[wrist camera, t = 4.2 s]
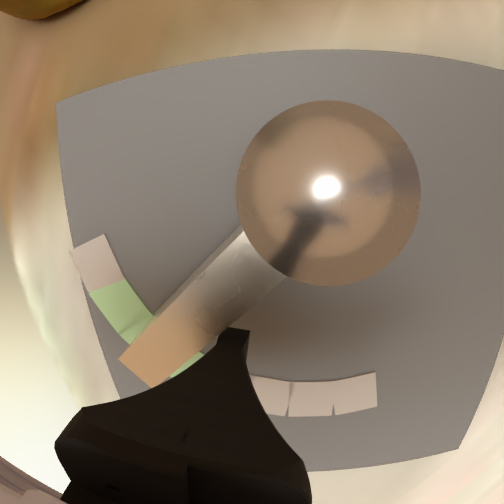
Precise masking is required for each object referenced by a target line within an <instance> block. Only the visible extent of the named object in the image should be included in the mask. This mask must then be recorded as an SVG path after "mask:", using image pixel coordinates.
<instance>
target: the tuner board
mask: <svg viewBox="0 0 504 504" xmlns="http://www.w3.org/2000/svg"><path fill="white" fill-rule="evenodd" d="M319 100H334V101H343V102H348V103H352V104H355V105H358V106H361V107H363V108H366V109H368V110H370V111H372V112H373V113H375V114H377V115H379V116H380V117H381V118H383V119H384V120H385V121H387V122H388V123H389V124H390V125H391V126H392V127H393V128H394V129H395V130H396V131H397V132H398V133H399V134H400V136H401V137H402V138H403V140H404V141H405V142H406V144H407V146H408V148H409V149H410V151H411V153H412V155H413V158H414V160H415V163H416V166H417V169H418V173H419V178H420V186H421V202H420V210H419V215H418V219H417V222H416V225H415V228H414V230H413V233H412V235H411V237H410V238H409V240H408V242H407V244H406V245H405V247H404V248H403V249H402V251H401V252H400V253H399V255H398V256H397V257H396V258H395V259H394V260H393V261H392V262H391V263H390V264H388V265H387V266H386V267H385V268H383V269H382V270H381V271H379V272H377V273H376V274H374V275H372V276H370V277H368V278H366V279H364V280H362V281H358V282H355V283H352V284H347V285H341V286H316V285H311V284H306V283H303V282H300V281H297V280H294V279H292V278H290V277H288V276H286V277H285V278H284V279H283V280H282V281H281V282H280V283H278V284H277V285H276V286H275V287H274V288H273V289H272V290H271V291H269V292H268V293H267V294H266V295H265V296H264V297H263V298H261V299H260V300H259V301H258V302H257V303H256V304H255V305H253V306H252V307H251V308H250V309H249V310H248V311H246V312H245V313H244V314H243V315H242V316H241V317H239V318H238V319H237V320H236V321H235V322H234V323H232V324H231V325H230V326H229V327H232V328H238V329H244V330H250V337H249V345H248V352H247V360H246V364H247V368H248V372H249V375H250V378H251V381H252V384H253V387H254V389H255V392H256V394H257V396H258V398H259V400H260V402H261V404H262V406H263V408H264V410H265V412H266V413H267V415H268V417H269V418H270V420H271V421H272V423H273V424H274V426H275V428H276V429H277V431H278V432H279V433H280V434H281V436H282V437H283V438H284V440H285V441H286V442H287V443H288V445H289V446H290V447H291V448H292V449H293V450H294V451H295V452H296V453H297V454H298V456H299V457H300V458H301V459H302V460H303V461H304V464H305V468H306V471H307V472H312V471H330V470H343V469H353V468H362V467H370V466H378V465H384V464H391V463H397V462H402V461H408V460H413V459H418V458H423V457H427V456H432V455H436V454H440V453H444V452H448V451H452V450H456V449H458V448H459V446H460V444H461V442H462V440H463V438H464V436H465V434H466V432H467V430H468V428H469V426H470V424H471V422H472V419H473V417H474V415H475V413H476V410H477V408H478V406H479V403H480V401H481V399H482V396H483V394H484V391H485V389H486V386H487V383H488V381H489V378H490V375H491V372H492V370H493V367H494V364H495V361H496V358H497V355H498V352H499V348H500V345H501V342H502V338H503V335H504V71H503V70H499V69H495V68H491V67H487V66H482V65H478V64H473V63H468V62H463V61H458V60H452V59H446V58H440V57H433V56H426V55H418V54H409V53H399V52H387V51H371V50H298V51H281V52H269V53H258V54H249V55H241V56H233V57H226V58H219V59H213V60H207V61H201V62H195V63H190V64H185V65H180V66H175V67H171V68H166V69H162V70H158V71H154V72H150V73H146V74H142V75H138V76H134V77H131V78H127V79H124V80H120V81H117V82H113V83H110V84H107V85H104V86H101V87H98V88H95V89H92V90H89V91H86V92H83V93H80V94H77V95H75V96H72V97H69V98H67V99H64V100H61V101H59V102H56V111H57V131H58V144H59V155H60V165H61V174H62V182H63V189H64V196H65V203H66V209H67V215H68V221H69V226H70V232H71V237H72V242H73V246H74V249H72V250H70V251H69V252H70V255H71V257H72V259H73V261H74V264H75V266H76V268H77V270H78V272H79V274H80V277H81V281H82V285H83V289H84V292H85V296H86V300H87V303H88V307H89V310H90V314H91V317H92V320H93V324H94V327H95V330H96V333H97V336H98V339H99V342H100V345H101V348H102V351H103V354H104V357H105V360H106V362H107V365H108V368H109V371H110V373H111V376H112V378H113V381H114V384H115V386H116V389H117V391H118V394H119V396H120V398H121V399H123V398H127V397H130V396H133V395H136V394H138V393H141V392H144V391H146V390H148V389H151V387H150V386H148V385H147V384H146V383H145V382H144V381H142V380H141V379H140V378H139V377H138V376H137V375H135V374H134V373H133V372H132V371H131V370H130V369H128V368H127V367H126V366H125V365H124V364H123V363H122V362H121V361H119V360H118V358H119V357H120V356H121V355H122V353H123V352H124V351H125V350H126V348H127V347H128V346H129V345H130V343H131V342H132V341H133V339H134V338H135V337H136V336H137V334H138V333H139V332H140V331H141V329H142V328H143V327H144V326H145V325H146V323H147V322H148V321H149V320H150V318H151V317H152V316H153V315H154V313H155V312H156V311H157V310H158V309H159V308H160V307H161V306H162V305H163V303H164V302H165V301H166V300H167V299H168V298H169V297H170V296H171V295H172V294H173V293H174V292H175V291H176V290H177V289H178V288H179V287H180V286H181V285H182V284H183V283H184V282H185V281H186V280H187V279H188V278H189V276H190V275H191V274H192V273H193V272H194V271H195V270H196V269H197V268H198V267H199V266H200V265H201V264H202V263H203V262H204V261H205V260H206V259H207V258H208V257H209V256H210V255H211V254H212V253H213V252H214V251H215V250H216V249H217V248H218V247H219V246H220V245H221V244H222V243H223V242H224V241H225V240H226V239H227V238H228V237H229V236H230V235H231V234H232V233H233V232H234V231H235V230H236V229H237V228H238V227H239V226H240V225H241V222H240V219H239V215H238V210H237V204H236V181H237V175H238V170H239V167H240V163H241V160H242V158H243V155H244V153H245V151H246V149H247V147H248V145H249V144H250V142H251V141H252V139H253V138H254V136H255V135H256V134H257V133H258V132H259V131H260V130H261V128H262V127H263V126H264V125H266V124H267V123H268V122H269V121H270V120H271V119H272V118H274V117H276V116H277V115H279V114H280V113H282V112H283V111H285V110H288V109H290V108H292V107H294V106H297V105H300V104H303V103H307V102H313V101H319ZM218 336H219V335H218ZM218 336H217V337H216V338H215V339H214V340H212V341H211V342H210V343H209V344H208V345H206V346H205V347H204V348H203V349H202V350H200V351H199V352H198V353H197V354H196V355H194V356H193V357H192V358H191V359H190V360H188V361H187V362H186V363H185V364H183V365H182V366H181V367H180V368H179V369H177V370H176V371H175V372H174V373H172V374H171V375H170V376H169V377H168V378H166V379H165V380H164V381H163V382H165V381H167V380H169V379H171V378H172V377H174V376H176V375H177V374H179V373H181V372H182V371H184V370H185V369H187V368H188V367H189V366H191V365H192V364H193V363H195V362H196V361H197V360H199V359H200V358H201V357H202V356H204V355H205V354H206V353H207V352H208V351H209V350H210V349H212V348H213V347H214V346H215V345H216V343H217V339H218ZM163 382H161V383H163ZM161 383H160V384H161Z"/></svg>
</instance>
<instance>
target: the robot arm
mask: <svg viewBox="0 0 504 504" xmlns="http://www.w3.org/2000/svg"><path fill="white" fill-rule="evenodd" d="M249 337H250V330H244V329H238V328H232V327H228V328H227V329H225V330H224V331H223V332H222V333H221V334H220V335H219V336H218V339H217V343H216V345H215V346H214V347H213V348H212V349H210V350H209V351H208V352H207V353H206V354H205V355H204V356H202V357H201V358H200V359H199V360H197V361H196V362H195V363H193V364H192V365H191V366H189V367H188V368H187V369H185V370H184V371H182V372H181V373H179V374H177V375H176V376H174V377H172V378H171V379H169V380H167V381H165V382H163V383H161V384H159V385H157V386H155V387H153V388H151V389H148V390H146V391H144V392H141V393H138V394H136V395H133V396H130V397H127V398H123V399H120V400H116V401H113V402H108V403H103V404H98V405H93V406H88V407H82V409H81V410H80V411H79V412H78V413H77V414H76V415H75V416H74V417H73V418H72V420H71V421H70V422H69V423H68V425H67V426H66V427H65V429H64V430H63V432H62V433H61V434H60V436H59V437H58V438H57V440H56V441H55V447H54V448H55V451H56V454H57V456H58V459H59V461H60V463H61V464H62V466H63V468H64V470H65V471H66V473H67V475H68V477H69V478H70V480H71V482H70V483H69V485H68V487H67V488H66V490H65V491H64V493H63V494H61V493H59V492H57V491H55V490H54V489H52V488H50V487H48V486H47V485H45V484H43V483H41V482H40V481H38V480H36V479H34V478H33V477H31V476H30V475H28V474H26V473H25V472H23V471H22V470H20V469H18V468H17V467H15V466H14V465H12V464H11V463H9V462H8V461H6V460H5V459H4V458H2V457H1V456H0V504H312V494H311V487H310V482H309V478H308V474H307V471H306V468H305V464H304V461H303V460H302V459H301V458H300V457H299V456H298V454H297V453H296V452H295V451H294V450H293V449H292V448H291V447H290V446H289V445H288V443H287V442H286V441H285V440H284V438H283V437H282V436H281V434H280V433H279V432H278V431H277V429H276V428H275V426H274V424H273V423H272V421H271V420H270V418H269V417H268V415H267V413H266V412H265V410H264V408H263V406H262V404H261V402H260V400H259V398H258V396H257V394H256V392H255V389H254V387H253V384H252V381H251V378H250V375H249V372H248V368H247V364H246V360H247V352H248V345H249Z"/></svg>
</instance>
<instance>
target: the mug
mask: <svg viewBox="0 0 504 504" xmlns="http://www.w3.org/2000/svg"><path fill="white" fill-rule="evenodd" d="M81 1H83V0H0V11H3V12H5V13H7V14H9V15H12V16H14V17H17V18H21V19H27V20H36V19H43V18H46V17H48V16H50V15H52V14H55V13H58V12H61V11H63V10H65V9H67V8H69V7H71V6H73V5H75V4H77V3H79V2H81Z"/></svg>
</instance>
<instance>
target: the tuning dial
mask: <svg viewBox="0 0 504 504" xmlns="http://www.w3.org/2000/svg"><path fill="white" fill-rule="evenodd" d="M420 202H421V186H420V178H419V173H418V169H417V166H416V163H415V160H414V158H413V155H412V153H411V151H410V149H409V148H408V146H407V144H406V142H405V141H404V140H403V138H402V137H401V136H400V134H399V133H398V132H397V131H396V130H395V129H394V128H393V127H392V126H391V125H390V124H389V123H388V122H387V121H385V120H384V119H383V118H381V117H380V116H379V115H377V114H375V113H373V112H372V111H370V110H368V109H366V108H363V107H361V106H358V105H355V104H352V103H348V102H343V101H334V100H319V101H313V102H307V103H303V104H300V105H297V106H294V107H292V108H290V109H288V110H285V111H283V112H282V113H280V114H279V115H277V116H276V117H274V118H272V119H271V120H270V121H269V122H268V123H267V124H266V125H264V126H263V127H262V128H261V130H260V131H259V132H258V133H257V134H256V135H255V136H254V138H253V139H252V141H251V142H250V144H249V145H248V147H247V149H246V151H245V153H244V155H243V158H242V160H241V163H240V167H239V170H238V175H237V181H236V204H237V210H238V215H239V219H240V222H241V225H240V226H239V227H238V228H237V229H236V230H235V231H234V232H233V233H232V234H231V235H230V236H229V237H228V238H227V239H226V240H225V241H224V242H223V243H222V244H221V245H220V246H219V247H218V248H217V249H216V250H215V251H214V252H213V253H212V254H211V255H210V256H209V257H208V258H207V259H206V260H205V261H204V262H203V263H202V264H201V265H200V266H199V267H198V268H197V269H196V270H195V271H194V272H193V273H192V274H191V275H190V276H189V278H188V279H187V280H186V281H185V282H184V283H183V284H182V285H181V286H180V287H179V288H178V289H177V290H176V291H175V292H174V293H173V294H172V295H171V296H170V297H169V298H168V299H167V300H166V301H165V302H164V303H163V305H162V306H161V307H160V308H159V309H158V310H157V311H156V312H155V313H154V315H153V316H152V317H151V318H150V320H149V321H148V322H147V323H146V325H145V326H144V327H143V328H142V329H141V331H140V332H139V333H138V334H137V336H136V337H135V338H134V339H133V341H132V342H131V343H130V345H129V346H128V347H127V348H126V350H125V351H124V352H123V353H122V355H121V356H120V357H119V358H118V360H119V361H121V362H122V363H123V364H124V365H125V366H126V367H127V368H128V369H130V370H131V371H132V372H133V373H134V374H135V375H137V376H138V377H139V378H140V379H141V380H142V381H144V382H145V383H146V384H147V385H148V386H150V387H151V388H153V387H155V386H157V385H159V384H160V383H161V382H163V381H164V380H165V379H166V378H168V377H169V376H170V375H171V374H172V373H174V372H175V371H176V370H177V369H179V368H180V367H181V366H182V365H183V364H185V363H186V362H187V361H188V360H190V359H191V358H192V357H193V356H194V355H196V354H197V353H198V352H199V351H200V350H202V349H203V348H204V347H205V346H206V345H208V344H209V343H210V342H211V341H212V340H214V339H215V338H216V337H217V336H218V335H220V334H221V333H222V332H223V331H224V330H225V329H227V328H228V327H229V326H230V325H231V324H232V323H234V322H235V321H236V320H237V319H238V318H239V317H241V316H242V315H243V314H244V313H245V312H246V311H248V310H249V309H250V308H251V307H252V306H253V305H255V304H256V303H257V302H258V301H259V300H260V299H261V298H263V297H264V296H265V295H266V294H267V293H268V292H269V291H271V290H272V289H273V288H274V287H275V286H276V285H277V284H278V283H280V282H281V281H282V280H283V279H284V278H285V277H286V276H288V277H290V278H292V279H294V280H297V281H300V282H303V283H306V284H311V285H316V286H341V285H347V284H352V283H355V282H358V281H362V280H364V279H366V278H368V277H370V276H372V275H374V274H376V273H377V272H379V271H381V270H382V269H383V268H385V267H386V266H387V265H388V264H390V263H391V262H392V261H393V260H394V259H395V258H396V257H397V256H398V255H399V253H400V252H401V251H402V249H403V248H404V247H405V245H406V244H407V242H408V240H409V238H410V237H411V235H412V233H413V230H414V228H415V225H416V222H417V219H418V215H419V210H420Z"/></svg>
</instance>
